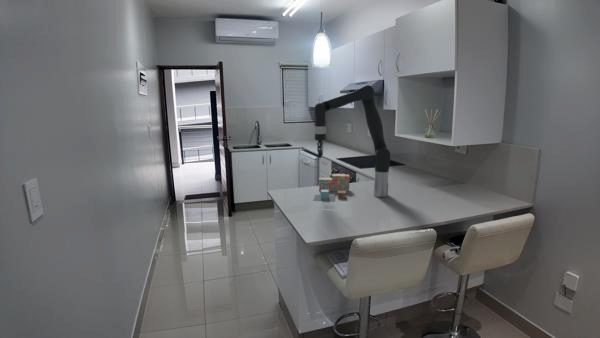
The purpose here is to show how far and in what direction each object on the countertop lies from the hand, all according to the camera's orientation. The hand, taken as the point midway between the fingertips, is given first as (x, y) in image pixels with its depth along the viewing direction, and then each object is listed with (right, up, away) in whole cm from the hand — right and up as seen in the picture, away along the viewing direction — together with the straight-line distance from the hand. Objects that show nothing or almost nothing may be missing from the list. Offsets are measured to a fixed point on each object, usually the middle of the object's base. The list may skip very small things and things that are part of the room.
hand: (320, 156), depth 224 cm
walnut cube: (+14, -28, -7) cm, 32 cm away
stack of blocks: (+10, -25, +12) cm, 29 cm away
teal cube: (+2, -28, -8) cm, 29 cm away
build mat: (+2, -29, -8) cm, 30 cm away
